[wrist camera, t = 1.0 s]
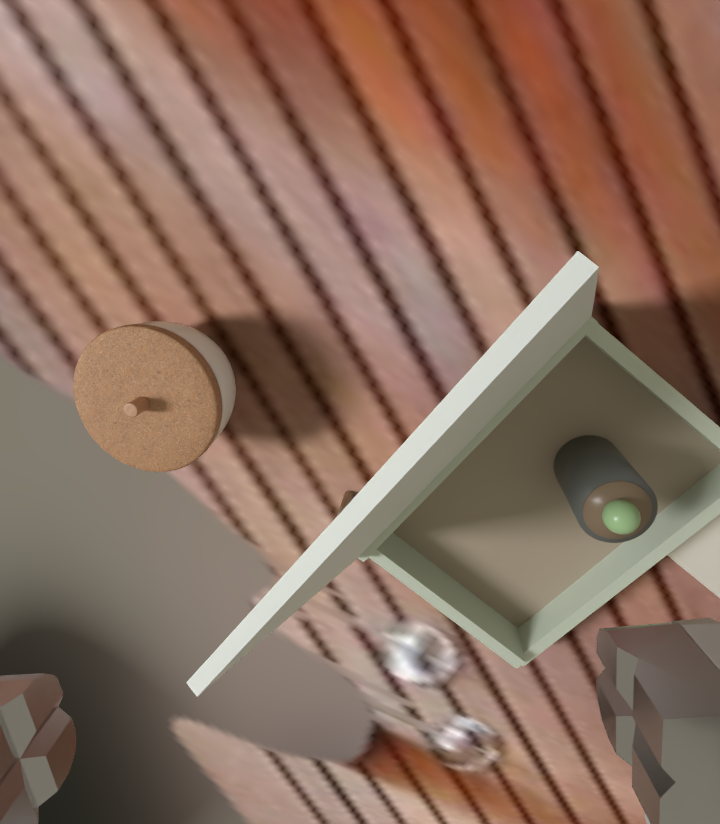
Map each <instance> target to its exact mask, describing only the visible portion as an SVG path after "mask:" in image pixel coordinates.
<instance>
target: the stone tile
mask: <svg viewBox="0 0 720 824" xmlns="http://www.w3.org/2000/svg"><path fill="white" fill-rule="evenodd" d="M667 556H669V557H670V558H671V559H672V560H673V561H675V562H676V563H677V564H678V565H680V566H681V567H682V568H683V569H685V570H686V571H687V572H688V573H690V574H691V575H692V576H693V577H694V578H696V579H697V580H698V581H699V582H701V583H702V584H703V585H704V586H706V587H707V588H708V589H709V590H710V591H712V592H713V593H714V594H715V595H717V596H718V597H719V598H720V514H719V515H718V516H717V517H715V518H714V519H713V520H711V521H710V522H709V523H708V524H706V525H705V526H704V527H702V528H701V529H700V530H699V531H697V532H696V533H695V534H693V535H692V536H691V537H690V538H688V539H687V540H686V541H684V542H683V543H682V544H681V545H679V546H678V547H677V548H675V549H674V550H673V551H672V552H670V553H669V554H668V555H667Z"/></svg>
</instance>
